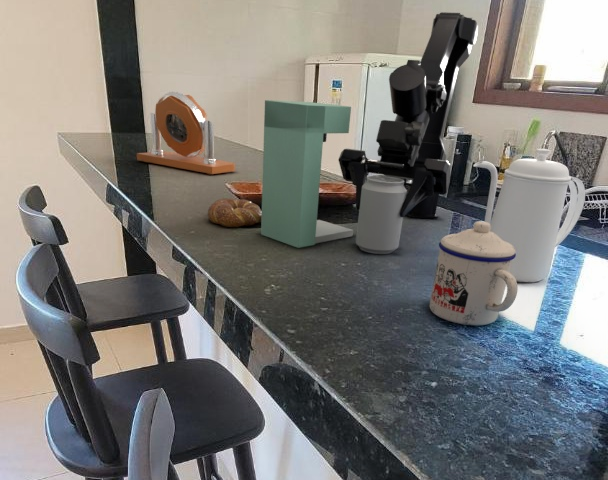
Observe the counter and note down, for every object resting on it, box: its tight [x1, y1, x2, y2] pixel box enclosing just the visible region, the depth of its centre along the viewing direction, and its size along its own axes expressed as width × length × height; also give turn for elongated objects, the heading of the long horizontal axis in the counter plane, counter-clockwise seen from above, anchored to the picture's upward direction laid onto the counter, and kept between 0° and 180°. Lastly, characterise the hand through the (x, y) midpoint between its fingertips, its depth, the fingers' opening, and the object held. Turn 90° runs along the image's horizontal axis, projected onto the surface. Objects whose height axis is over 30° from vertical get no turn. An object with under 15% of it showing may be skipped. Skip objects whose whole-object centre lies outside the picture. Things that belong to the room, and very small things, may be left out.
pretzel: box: [207, 197, 262, 228], centre depth 103 cm, size 12×11×4 cm
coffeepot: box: [472, 148, 586, 283], centre depth 81 cm, size 11×25×19 cm, turn 117°
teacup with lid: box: [429, 220, 519, 326], centre depth 65 cm, size 12×9×12 cm
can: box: [355, 175, 408, 255], centre depth 90 cm, size 8×8×12 cm
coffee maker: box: [260, 99, 354, 249], centre depth 93 cm, size 14×10×22 cm
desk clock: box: [136, 91, 236, 176], centre depth 154 cm, size 12×30×20 cm, turn 58°
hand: (378, 212), depth 89 cm, fingers closed on can, 7 cm apart
